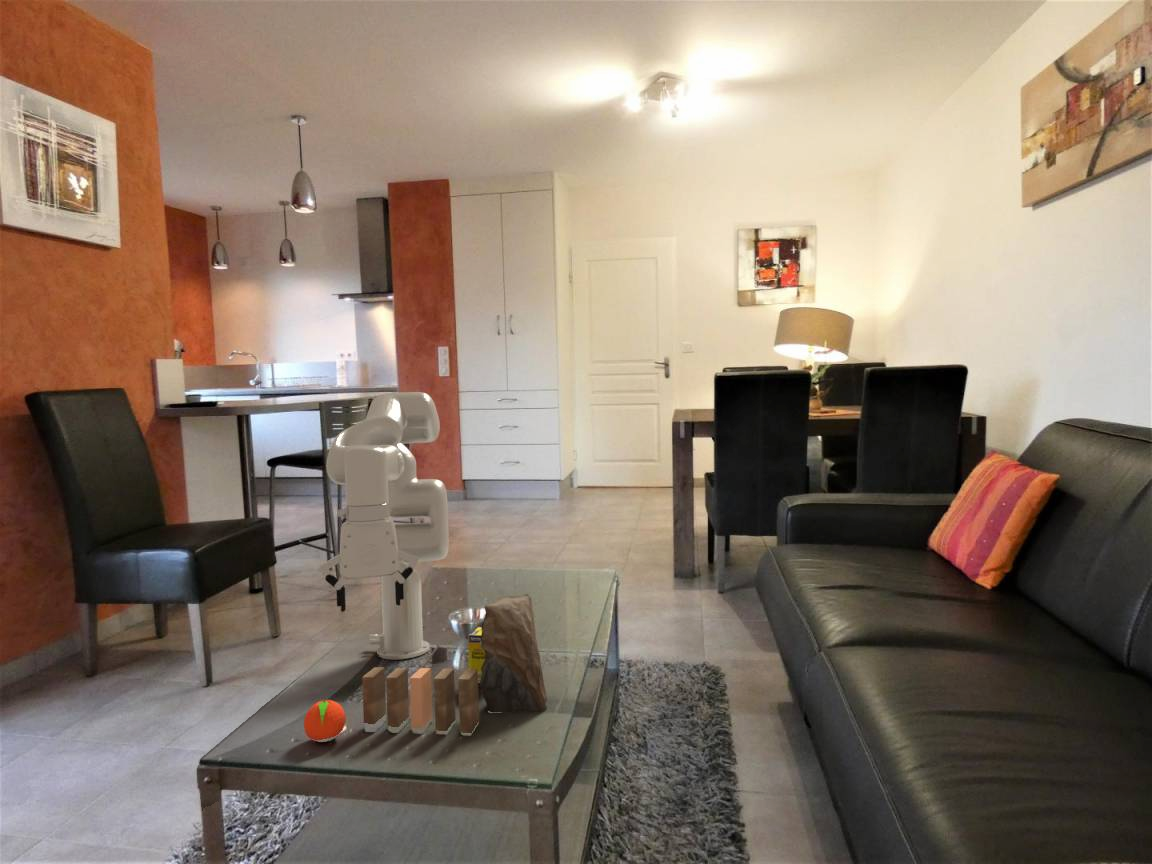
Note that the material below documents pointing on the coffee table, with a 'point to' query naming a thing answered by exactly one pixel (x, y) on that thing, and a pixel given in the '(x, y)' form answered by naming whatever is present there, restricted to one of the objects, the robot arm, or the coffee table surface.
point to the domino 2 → (397, 697)
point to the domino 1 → (374, 695)
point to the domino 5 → (468, 700)
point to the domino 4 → (444, 699)
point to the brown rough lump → (511, 657)
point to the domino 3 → (421, 698)
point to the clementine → (324, 720)
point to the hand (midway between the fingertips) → (371, 606)
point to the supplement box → (476, 652)
